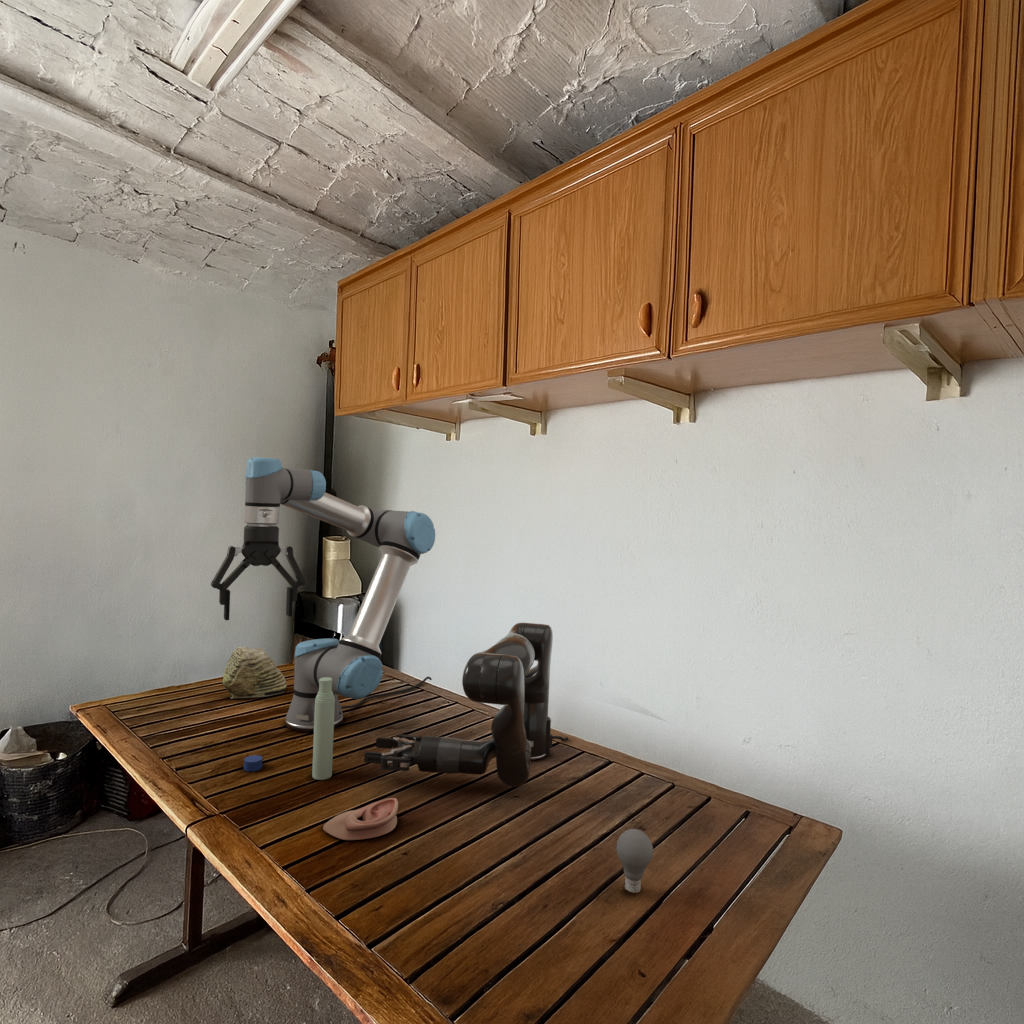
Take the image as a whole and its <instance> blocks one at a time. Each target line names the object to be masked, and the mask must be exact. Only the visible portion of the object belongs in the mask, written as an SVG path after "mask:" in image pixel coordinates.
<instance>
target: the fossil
mask: <svg viewBox="0 0 1024 1024" xmlns="http://www.w3.org/2000/svg"><path fill="white" fill-rule="evenodd" d="M222 676H223V677H222V685H223V687H224V688H225V690H226V691H228V693H229V698H230V699H250V698H264V697H271V696H275V695H281V694H284V693H285V691H286V689H287V687H288V686H287V680H286V678H285V676H284V674H283V673H282V672H281V669H279V668H278V667H277V665H276V663H275V662H274V660H273V659H272V658H271V657H270V656H269V655H268V654H267V653H266V652H265V650H264V649H263V648H260V647H258V648H251V647H247V646H246V647H245V646H238V647H237V648H236V649H235V650H233V651H232V653H231V656H230V657H229V659H228V660H227V663H226V666H225V668H224V671H223V675H222Z"/></svg>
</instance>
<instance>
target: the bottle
mask: <svg viewBox="0 0 1024 1024" xmlns="http://www.w3.org/2000/svg"><path fill="white" fill-rule="evenodd" d="M334 709H335V697H334V695H333V691H332V678H329V677H324V678H320V679H319V691H318V693H317V696H316V698H315V714H314V732H313V740H312V741H313V745H312V770H311V778H313V780H317V781H323V780H327V779H330V778H331V777H332V776H333V761H334V759H333V758H334V756H333V755H334V736H335V735H334V733H335V728H334Z"/></svg>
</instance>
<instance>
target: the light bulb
mask: <svg viewBox="0 0 1024 1024" xmlns="http://www.w3.org/2000/svg"><path fill="white" fill-rule="evenodd" d="M615 849H616V854H617V857H618V859H619V861H620V863H621V865H622V867H623V873H624V874H623V875H624V876H625V878H624V888H625V890H627V891H628V892H630V893H634V894H635V893H639V892H640V891H641V889H642V887H641V886H642V879H643V877H644V875H645V871H646V868H647V867H648V866H649V864H650V863H651V861H652V859H653V855H654V847H653V843H652V841H651V838H649V836H648V835H647V834H646V833H645V832H643V831H642V830H641V829H636V828H629V829H627V830H625V831H623V832H622V833H621V834H620V835H619V837H618V839H617V841H616V847H615Z"/></svg>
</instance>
